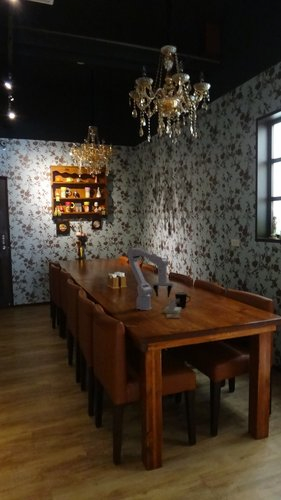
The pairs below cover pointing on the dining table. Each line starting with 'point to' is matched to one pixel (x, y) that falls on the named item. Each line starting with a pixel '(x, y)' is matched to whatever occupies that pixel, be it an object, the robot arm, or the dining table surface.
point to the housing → (172, 304)
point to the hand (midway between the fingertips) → (162, 296)
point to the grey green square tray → (176, 311)
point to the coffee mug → (181, 299)
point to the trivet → (172, 316)
